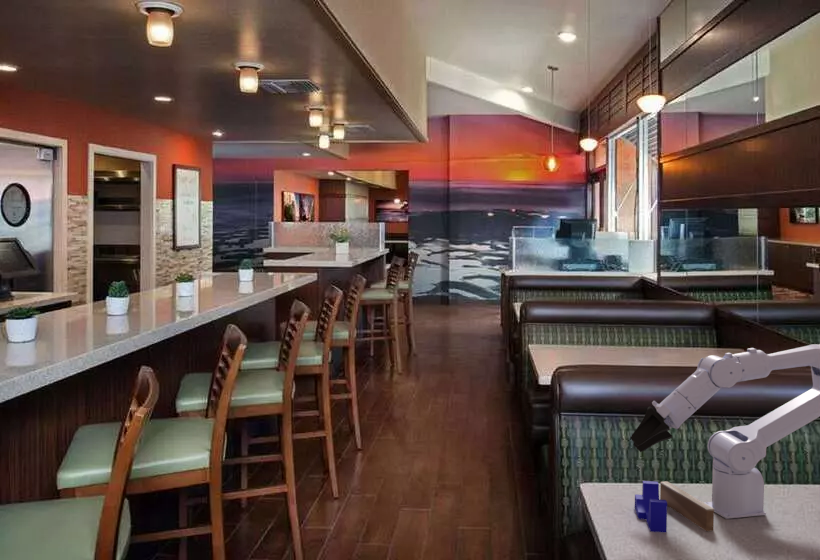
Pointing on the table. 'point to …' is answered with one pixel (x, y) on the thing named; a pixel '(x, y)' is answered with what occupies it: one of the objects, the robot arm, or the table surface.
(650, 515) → the cable clip
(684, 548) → the table surface
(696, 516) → the bar
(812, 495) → the table surface
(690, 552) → the table surface
